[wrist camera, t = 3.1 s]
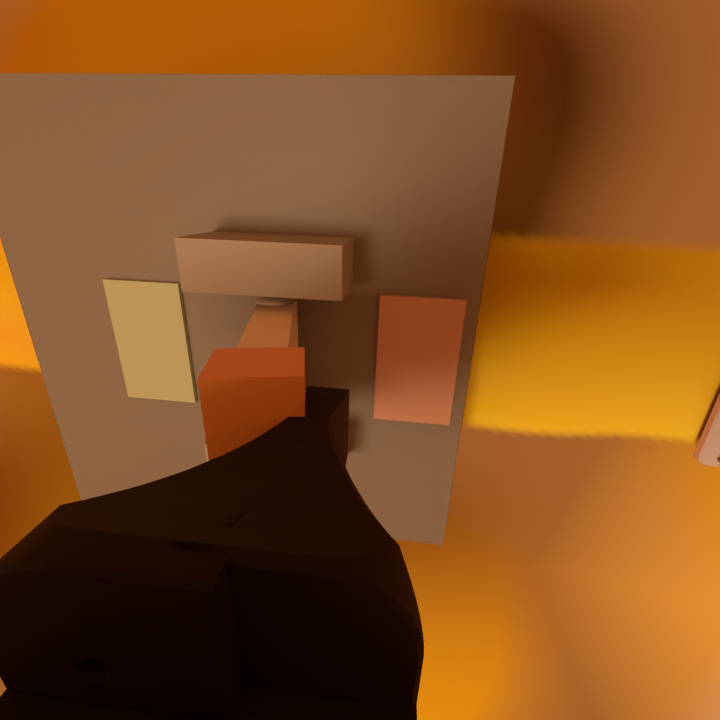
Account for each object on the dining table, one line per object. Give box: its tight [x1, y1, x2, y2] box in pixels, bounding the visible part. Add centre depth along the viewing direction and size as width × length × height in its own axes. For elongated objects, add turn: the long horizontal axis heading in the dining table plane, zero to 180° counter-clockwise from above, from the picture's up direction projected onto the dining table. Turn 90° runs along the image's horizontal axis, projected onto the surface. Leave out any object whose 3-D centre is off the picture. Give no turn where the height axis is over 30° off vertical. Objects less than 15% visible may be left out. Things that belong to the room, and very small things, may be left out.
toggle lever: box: [197, 297, 306, 461], centre depth 12 cm, size 2×5×7 cm, turn 178°
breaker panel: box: [0, 73, 515, 545], centre depth 16 cm, size 18×18×6 cm
